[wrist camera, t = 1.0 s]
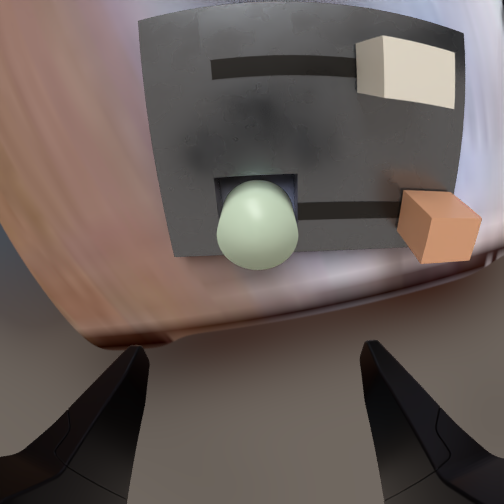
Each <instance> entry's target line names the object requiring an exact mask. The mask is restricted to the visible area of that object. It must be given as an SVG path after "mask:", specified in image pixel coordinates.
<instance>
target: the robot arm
mask: <svg viewBox="0 0 504 504" xmlns="http://www.w3.org/2000/svg"><path fill="white" fill-rule="evenodd" d="M503 4H504V0H503ZM149 366H150V364H149V359H148V357H147V355H146V353H145V351H144V349H143V347H142V346H139V345H131V346H129V347H128V348H127V349H126V350H125V351H124V352H123V353H122V354H121V355H120V356H119V357H118V358H117V359H116V360H115V361H114V362H113V363H112V364H111V365H110V366H109V367H108V368H107V369H106V370H105V371H104V372H103V373H102V375H101V376H100V377H98V379H97V380H96V381H95V382H94V383H93V384H92V385H91V386H90V387H89V388H88V389H87V390H86V391H85V392H84V393H83V394H82V395H81V396H80V397H79V398H78V399H77V400H76V401H75V402H74V403H73V404H72V405H71V407H70V408H69V409H68V410H67V411H66V412H65V413H64V414H63V415H62V416H61V417H60V418H59V419H58V420H57V421H56V422H55V423H54V424H53V425H52V426H51V427H49V428H48V429H47V430H46V431H45V432H44V433H43V434H41V435H40V436H39V437H38V438H37V439H36V440H34V441H33V442H32V443H31V444H30V445H28V446H27V447H26V448H25V449H24V450H22V451H20V452H19V453H16V454H13V455H9V456H3V457H0V504H127V498H128V491H129V486H130V479H131V474H132V468H133V462H134V457H135V451H136V446H137V441H138V436H139V431H140V426H141V421H142V416H143V412H144V407H145V401H146V392H147V382H148V375H149ZM360 366H361V373H362V382H363V390H364V399H365V405H366V409H367V414H368V418H369V422H370V427H371V432H372V437H373V441H374V447H375V451H376V457H377V462H378V467H379V472H380V478H381V484H382V490H383V496H384V500H385V501H384V503H385V504H504V458H500V457H497V456H494V455H492V454H491V453H489V452H488V451H487V450H485V449H484V448H483V447H482V446H481V445H479V444H478V443H477V442H476V441H475V440H474V439H473V438H471V437H470V436H469V435H468V434H467V433H466V432H465V431H464V430H462V429H461V428H460V427H459V426H458V425H457V424H456V423H455V422H454V421H453V420H452V419H451V418H450V417H449V416H448V415H447V414H446V412H445V411H444V410H443V409H442V408H440V406H439V405H438V404H437V403H436V402H435V401H434V400H433V398H432V397H431V396H430V395H429V394H428V393H427V392H426V391H425V390H424V389H423V388H422V387H421V385H420V384H418V382H417V381H416V380H415V379H414V378H413V377H412V376H411V375H410V374H409V373H408V372H407V371H406V370H405V368H404V367H403V366H402V365H401V364H400V363H399V362H398V361H397V360H396V359H395V358H394V357H393V356H392V355H391V354H390V353H389V352H388V351H387V350H386V349H385V347H383V345H382V344H380V342H379V341H377V340H369V341H366V342H365V343H364V346H363V349H362V352H361V355H360Z"/></svg>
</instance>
